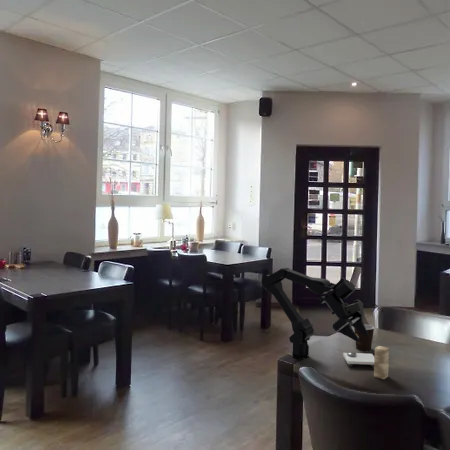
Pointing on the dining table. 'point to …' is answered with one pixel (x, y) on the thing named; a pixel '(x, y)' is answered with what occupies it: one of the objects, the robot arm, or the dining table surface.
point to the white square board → (359, 359)
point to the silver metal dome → (351, 354)
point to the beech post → (381, 362)
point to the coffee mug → (364, 338)
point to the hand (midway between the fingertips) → (362, 338)
